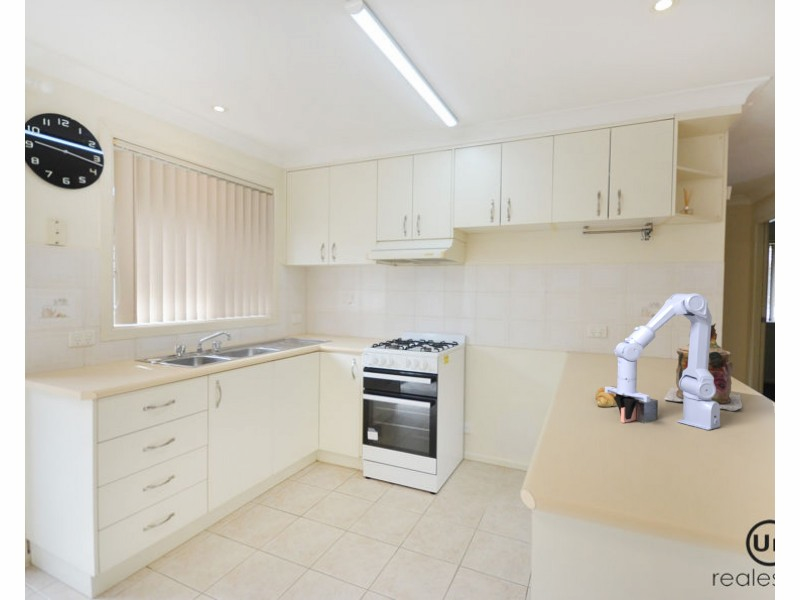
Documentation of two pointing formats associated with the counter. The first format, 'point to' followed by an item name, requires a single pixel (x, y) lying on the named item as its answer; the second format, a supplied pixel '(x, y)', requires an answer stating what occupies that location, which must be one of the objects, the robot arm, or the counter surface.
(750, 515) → the counter surface
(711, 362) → the cookie jar
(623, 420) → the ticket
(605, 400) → the croissant
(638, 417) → the grey cube
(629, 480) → the counter surface
